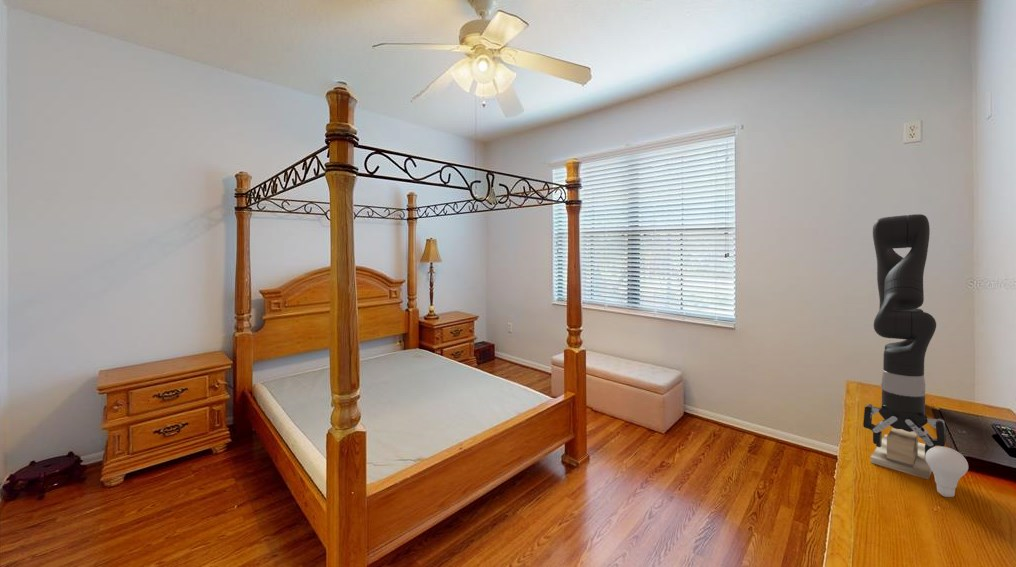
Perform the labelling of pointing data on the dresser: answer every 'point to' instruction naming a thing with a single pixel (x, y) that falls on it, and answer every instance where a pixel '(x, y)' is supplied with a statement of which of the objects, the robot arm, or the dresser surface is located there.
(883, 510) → the dresser surface
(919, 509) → the dresser surface
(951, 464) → the lightbulb
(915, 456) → the block
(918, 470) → the board
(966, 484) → the dresser surface
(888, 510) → the dresser surface
